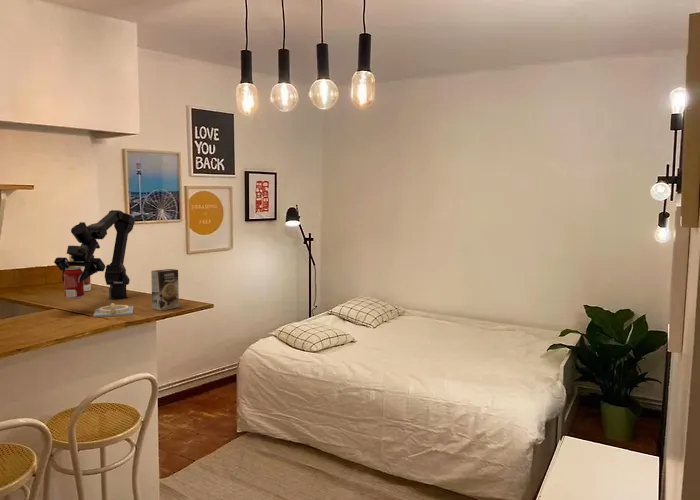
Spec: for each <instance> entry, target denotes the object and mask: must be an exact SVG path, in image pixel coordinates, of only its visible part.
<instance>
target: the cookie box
mask: <svg viewBox="0 0 700 500" xmlns="http://www.w3.org/2000/svg"><path fill="white" fill-rule="evenodd" d="M150 273H151V309H152V310H157V311H167V310H170V309H178V308H180V301H179V300H180V296H179V294H180V293H179V292H180V291H179V289H180V288H179V270H178V269H175V268H165V269H156V270H151V271H150ZM177 307H178V308H177Z"/></svg>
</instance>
